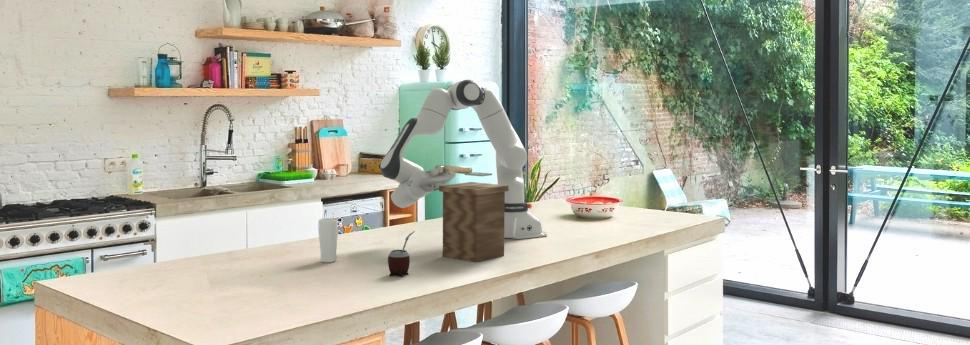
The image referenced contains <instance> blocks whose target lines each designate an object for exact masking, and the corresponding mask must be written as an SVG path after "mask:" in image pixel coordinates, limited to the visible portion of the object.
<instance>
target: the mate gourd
mask: <svg viewBox="0 0 970 345" xmlns="http://www.w3.org/2000/svg"><path fill="white" fill-rule="evenodd" d="M414 233H416V232H415V230H414V231H412V232H410V233H409V234H408V235H407V236H406V237H405V242H404V245H403V246H402V249H393V250H391V251H390V252H389V254H388V258H387V265H388V270H389V277H395V276H397V277H399V278H402V277H403V276H409V268H410V263H411V259H410V254H409V252H408V251H407V250H405V248H406V246H407V242H408V241H409V238H410V236H411V235H413V234H414Z"/></svg>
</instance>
